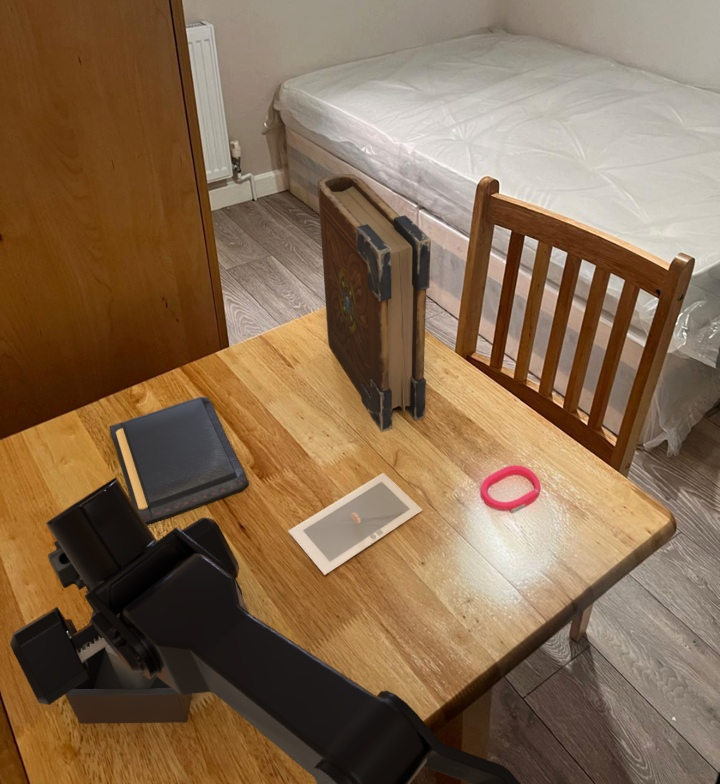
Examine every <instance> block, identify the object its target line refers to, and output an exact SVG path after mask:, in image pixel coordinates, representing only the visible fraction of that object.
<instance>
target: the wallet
mask: <svg viewBox="0 0 720 784" xmlns="http://www.w3.org/2000/svg"><path fill="white" fill-rule="evenodd" d="M109 431H110V436H111V439H112V442H113V444H114V448H115V450H116V454H117V458H118V461H119V464H120V468H121V471H122V473H123V474H122V475H123V478H124V480H125V484H126V488H127V491H128V496H129V498H130V500H131V501H132V503H133V505H134V506H135V508H136V509H137V511H138V512H139V514H140V515H141V517H142V519H143V520H144V522H145V523H146V525H147V526H148V525H150V524H154V523H157V522H160V521H163V520H167V519H169V518H172V517H174V516H179V515H181V514H183V513H186V512H188V511H191V510H194V509H197V508H200V507H202V506H206V505H209V504H211V503H214V502H216V501H219V500H222V499H225V498H228V497H230V496H232V495H233V496H234V495H235V494H237V493H241V492H242V491H244V490H245V489H246V488H248V487H249V486H250V483H249V479H248V477H247V475H246V472H245V470H244V469H243V466H242V464H241V462H240V460H239V458H238V456H237V454H236V452H235V450H234V448H233V446H232V444H231V442H230V440H229V438H228V436H227V434H226V432H225V429H224V427H223V425H222V423H221V420H220V418H219V416H218V414H217V412H216V409H215V407H214V405H213V403H212V401H211V400H210V398H209V397H208V396H198V397H195V398H192V399H188V400H186V401H182V402H179V403H176V404H174V405H170V406H168V407H167V406H166V407H164V408H162V409H159V410H156V411H151V412H149V413H146V414H143V415H140V416H137V417H134V418H131V419H127V420H124V421H121V422H119V423H115V424H113V425H109Z"/></svg>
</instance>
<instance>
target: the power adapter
mask: <svg viewBox="0 0 720 784" xmlns="http://www.w3.org/2000/svg"><path fill="white" fill-rule="evenodd" d="M105 648H106V651H107V654H108V656H109V658H110V661H111V663H112V666H113V668H114V671H115V673H116V675H117V678H118V680H119V683H120V685H121V688H122V689H150V687H151V686H152V684H153V682H154V681H155V679H156V677H157V676H156V675H155V676H154V677H153V678H152V679H148V678H147V677H145V676H144V675H143V674H142V675H140V674H139V673H138V672H135V671H131V670H130V669H129V668H128V667H127V666H126V665H125V664H124V662H123V661H122V660H121V659H120V658H119V656H118V655H117V654H116V653H115V652H114V650H113V649H112V648H111V647H110V646H109V645H107V646H106V647H105Z"/></svg>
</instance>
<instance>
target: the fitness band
mask: <svg viewBox="0 0 720 784" xmlns="http://www.w3.org/2000/svg"><path fill="white" fill-rule="evenodd" d="M513 475H517V476H523V477H525V478H526V479H528V480H529V481H530V482H531V483H532V484H533V487H534V489H532V490H531V491H529V492H527V493H525V494H523V496H520V497H518V498H517V499H513V500H511V501H510V500H509V501H499V500H496V499H494V498H492V497H491V496H490V495H489V492H488V489H489V488H490V487H491V486H492V485H494V484H496V483H498V482H500V481H502V480H503V479H506V478H507V477H510V476H513ZM540 493H541V481H540V480H539V478H538V476H537V475H536V474H535V473H534V472H533V471H532V470H531V469H530V468H528V467H526V466H523V465H517V464H516V465H515V464H513V465H509V466H508V465H507V466H506V467H503V468H501V469H499V470H497V471H496V472H493V473H492V474H490V475H489V476H487V477H486V478H485V479H484V480H483V482H482V483H481V487H480V496H481V499H482V500H483V502H484V503H485V504H486V505H487V506H489V507H491V508H494V509H497V510H508V511H509V512H510V513H511V514H514V513H516V512H518V511H520V510H522V509H524V508H526V507H527V506H529V505H530V504H532V503H534V501H536V500H537V499H538V497H539V495H540Z"/></svg>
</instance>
